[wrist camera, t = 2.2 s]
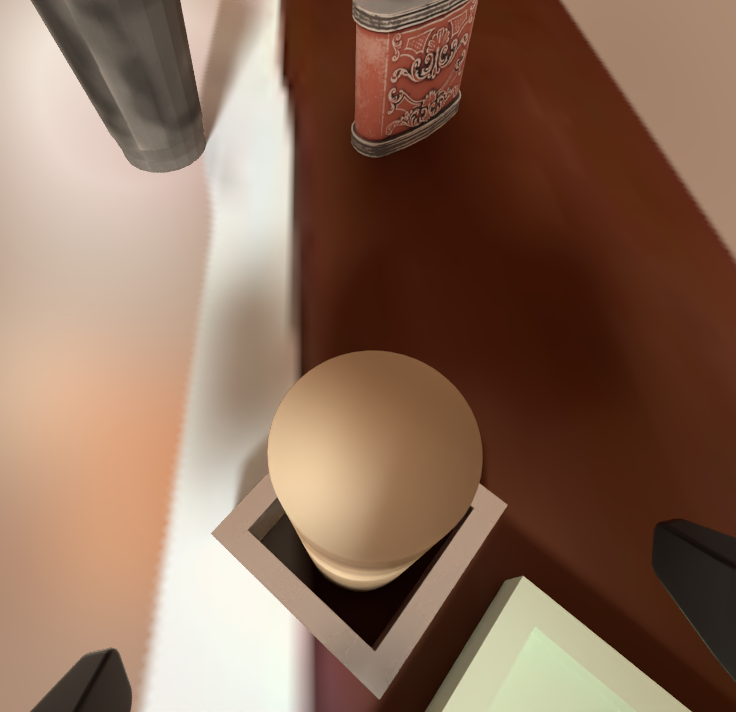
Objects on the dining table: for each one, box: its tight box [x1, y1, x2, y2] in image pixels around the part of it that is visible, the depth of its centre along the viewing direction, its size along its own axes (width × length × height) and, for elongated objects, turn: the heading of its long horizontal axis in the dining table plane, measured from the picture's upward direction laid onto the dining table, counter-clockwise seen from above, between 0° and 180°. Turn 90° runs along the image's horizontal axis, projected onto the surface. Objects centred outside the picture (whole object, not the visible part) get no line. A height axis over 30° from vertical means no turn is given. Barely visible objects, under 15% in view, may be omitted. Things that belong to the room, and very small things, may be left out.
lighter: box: [351, 0, 478, 157], centre depth 25 cm, size 8×3×10 cm, turn 133°
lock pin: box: [267, 351, 483, 592], centre depth 13 cm, size 4×4×10 cm
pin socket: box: [211, 472, 507, 700], centre depth 17 cm, size 7×7×2 cm
